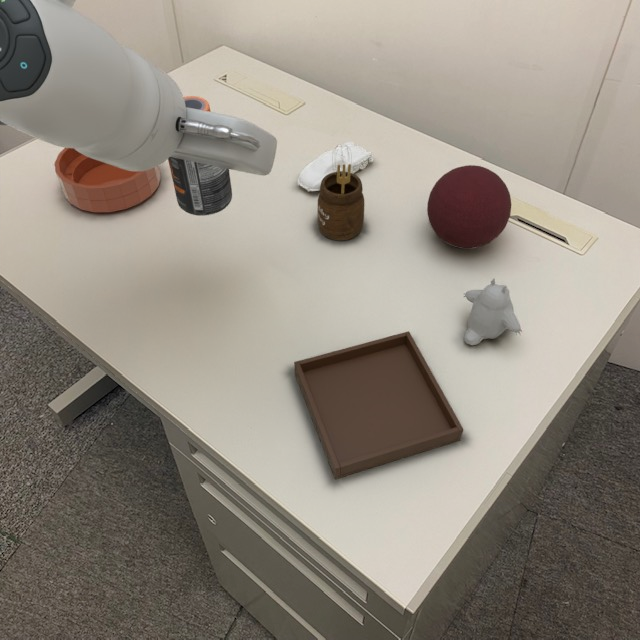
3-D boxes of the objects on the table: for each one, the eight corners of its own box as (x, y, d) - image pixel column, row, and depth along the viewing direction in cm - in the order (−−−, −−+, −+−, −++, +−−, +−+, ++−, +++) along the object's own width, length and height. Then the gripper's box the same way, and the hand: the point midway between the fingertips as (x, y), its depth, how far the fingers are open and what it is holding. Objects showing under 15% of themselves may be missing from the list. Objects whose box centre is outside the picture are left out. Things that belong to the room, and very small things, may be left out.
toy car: (375, 163, 93) (376, 143, 90) (315, 200, 88) (314, 179, 85) (350, 150, 95) (351, 129, 93) (291, 185, 90) (289, 164, 87)
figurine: (528, 340, 71) (546, 292, 65) (494, 368, 69) (509, 320, 63) (472, 300, 75) (485, 251, 69) (438, 325, 73) (448, 276, 67)
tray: (335, 479, 60) (335, 469, 59) (294, 373, 68) (293, 361, 67) (460, 440, 63) (463, 429, 61) (407, 342, 71) (409, 330, 70)
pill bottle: (175, 187, 71) (155, 92, 63) (229, 180, 72) (216, 85, 64) (179, 221, 67) (158, 125, 59) (236, 213, 68) (223, 117, 60)
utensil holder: (360, 211, 86) (364, 132, 77) (365, 243, 82) (370, 163, 73) (316, 213, 86) (315, 134, 77) (319, 245, 82) (318, 165, 73)
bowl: (68, 224, 85) (57, 196, 81) (62, 167, 93) (52, 140, 90) (168, 203, 88) (162, 175, 84) (153, 150, 96) (147, 123, 92)
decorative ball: (452, 203, 87) (464, 138, 79) (517, 236, 82) (536, 171, 75) (407, 239, 82) (414, 175, 75) (472, 277, 78) (488, 212, 70)
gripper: (254, 95, 50) (302, 137, 63) (30, 55, 54) (119, 103, 68) (237, 176, 50) (287, 201, 64) (17, 130, 55) (107, 162, 68)
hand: (199, 150), depth 66 cm, fingers closed on pill bottle, 6 cm apart
